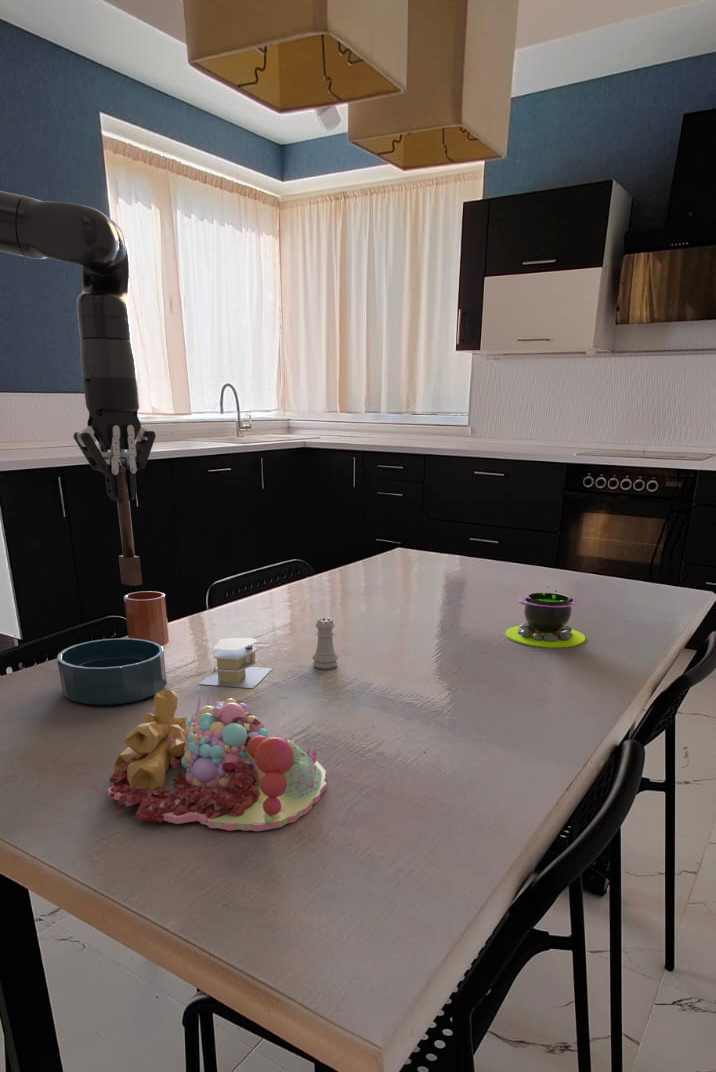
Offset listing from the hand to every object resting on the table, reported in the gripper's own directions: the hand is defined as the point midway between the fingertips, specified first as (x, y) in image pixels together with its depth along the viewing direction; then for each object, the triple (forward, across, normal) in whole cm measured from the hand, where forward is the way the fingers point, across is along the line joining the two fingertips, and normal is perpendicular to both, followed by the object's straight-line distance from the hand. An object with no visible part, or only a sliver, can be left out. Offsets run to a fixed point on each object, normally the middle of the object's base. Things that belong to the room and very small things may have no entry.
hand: (122, 499), depth 118 cm
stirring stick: (+13, 0, 0) cm, 13 cm away
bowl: (+27, +10, +6) cm, 29 cm away
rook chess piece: (+27, -20, +24) cm, 41 cm away
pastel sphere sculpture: (+27, +21, +42) cm, 54 cm away
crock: (+27, -9, -9) cm, 30 cm away
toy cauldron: (+27, -60, +46) cm, 80 cm away
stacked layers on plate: (+27, -6, +16) cm, 32 cm away
